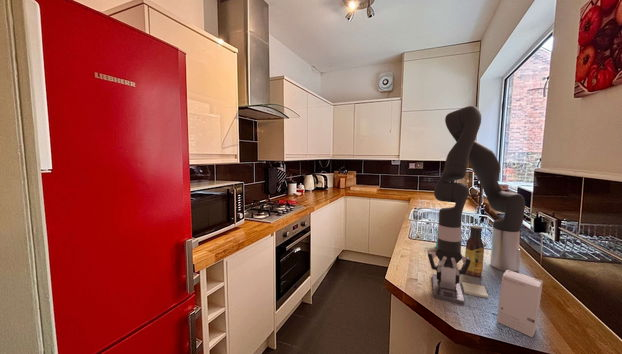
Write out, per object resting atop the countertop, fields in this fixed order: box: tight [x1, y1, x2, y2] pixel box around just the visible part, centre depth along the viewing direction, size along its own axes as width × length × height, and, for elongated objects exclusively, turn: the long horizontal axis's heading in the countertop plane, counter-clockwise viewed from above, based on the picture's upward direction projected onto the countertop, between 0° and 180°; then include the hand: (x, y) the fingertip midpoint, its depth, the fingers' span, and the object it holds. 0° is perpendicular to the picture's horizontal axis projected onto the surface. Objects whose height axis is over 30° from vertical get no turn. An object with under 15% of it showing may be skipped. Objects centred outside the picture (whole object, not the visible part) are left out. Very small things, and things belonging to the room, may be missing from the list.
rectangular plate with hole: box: [431, 273, 465, 305], centre depth 88 cm, size 9×16×1 cm, turn 155°
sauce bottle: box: [464, 225, 485, 277], centre depth 99 cm, size 7×6×20 cm
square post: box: [439, 265, 456, 292], centre depth 88 cm, size 4×4×9 cm
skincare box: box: [496, 270, 544, 338], centre depth 68 cm, size 8×6×15 cm
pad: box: [461, 281, 489, 299], centre depth 87 cm, size 7×7×1 cm
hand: (447, 281), depth 88 cm, fingers closed on square post, 4 cm apart
